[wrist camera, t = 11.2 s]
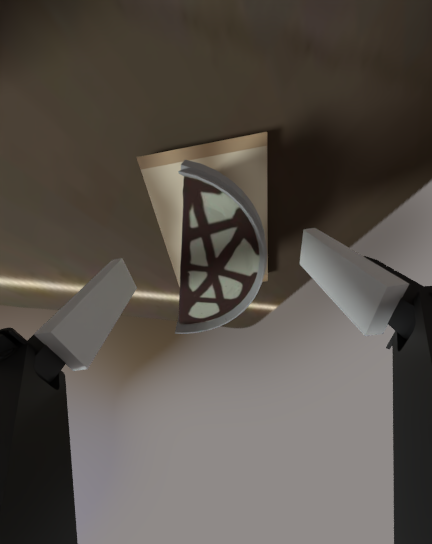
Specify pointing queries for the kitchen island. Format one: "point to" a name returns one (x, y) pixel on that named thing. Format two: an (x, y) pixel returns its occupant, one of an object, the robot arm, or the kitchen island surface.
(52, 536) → the robot arm
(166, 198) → the board
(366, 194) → the kitchen island surface
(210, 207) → the food container
